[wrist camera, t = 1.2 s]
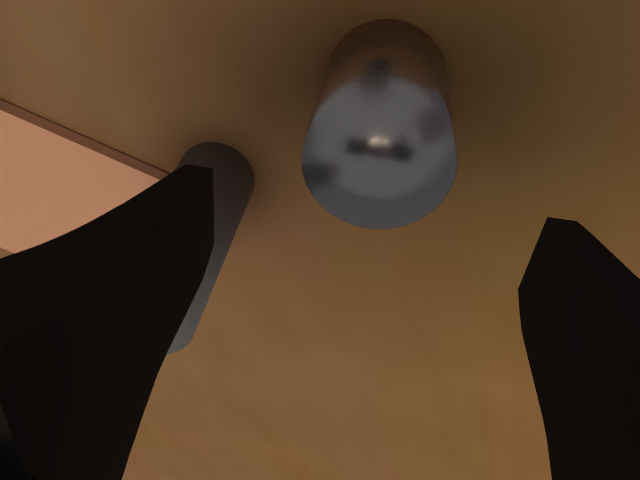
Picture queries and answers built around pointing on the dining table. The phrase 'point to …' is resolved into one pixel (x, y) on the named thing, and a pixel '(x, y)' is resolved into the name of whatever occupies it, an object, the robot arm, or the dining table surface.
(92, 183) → the tile
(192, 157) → the post corner
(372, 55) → the shiny metal cylinder
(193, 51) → the dining table surface
